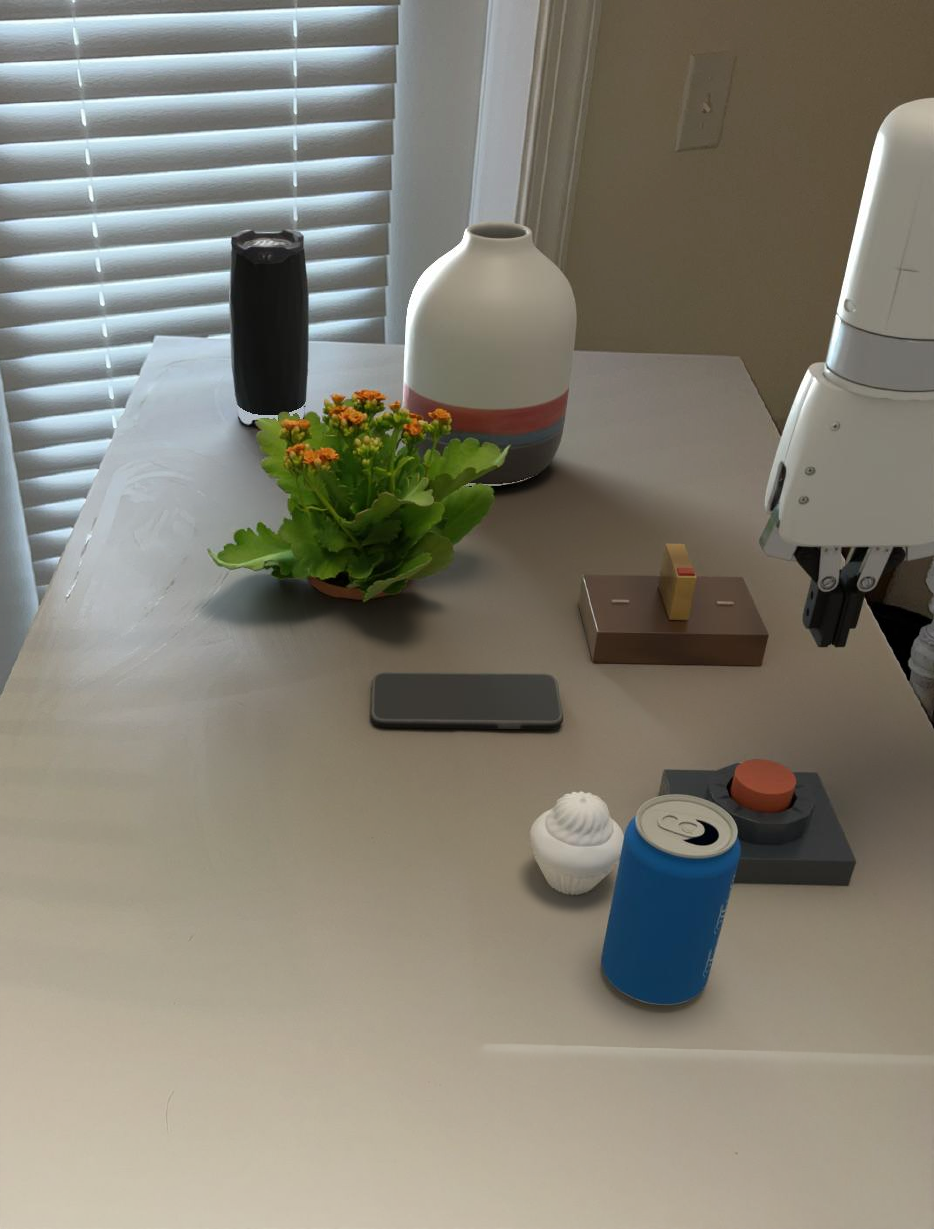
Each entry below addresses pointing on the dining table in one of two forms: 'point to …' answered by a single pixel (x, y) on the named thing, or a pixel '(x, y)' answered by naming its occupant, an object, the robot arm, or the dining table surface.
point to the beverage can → (670, 898)
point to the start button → (763, 786)
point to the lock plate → (671, 622)
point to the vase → (493, 348)
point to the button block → (776, 830)
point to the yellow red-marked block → (677, 581)
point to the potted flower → (364, 498)
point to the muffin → (576, 843)
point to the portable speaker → (269, 321)
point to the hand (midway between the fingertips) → (825, 636)
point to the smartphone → (466, 700)
